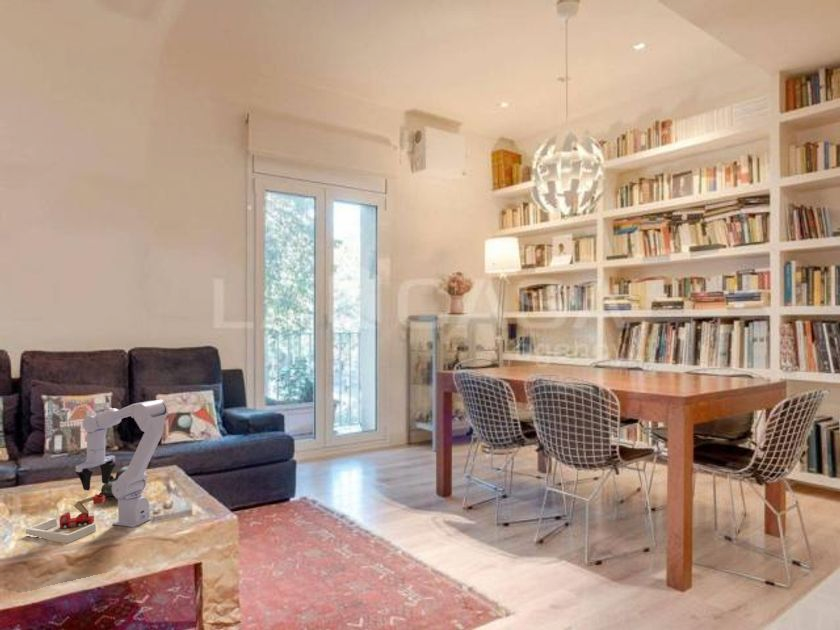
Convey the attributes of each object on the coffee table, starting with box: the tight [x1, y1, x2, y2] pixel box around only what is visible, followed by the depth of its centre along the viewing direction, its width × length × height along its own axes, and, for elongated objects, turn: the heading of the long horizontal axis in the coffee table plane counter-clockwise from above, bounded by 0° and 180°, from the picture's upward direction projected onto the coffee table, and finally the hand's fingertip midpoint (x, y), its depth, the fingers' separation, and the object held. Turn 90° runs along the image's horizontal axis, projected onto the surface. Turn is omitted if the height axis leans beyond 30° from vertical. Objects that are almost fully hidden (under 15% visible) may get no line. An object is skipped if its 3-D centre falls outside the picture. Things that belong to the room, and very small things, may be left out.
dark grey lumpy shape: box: [98, 465, 129, 497], centre depth 231 cm, size 15×12×14 cm
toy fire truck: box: [59, 494, 106, 530], centre depth 201 cm, size 3×14×10 cm, turn 106°
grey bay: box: [25, 517, 97, 544], centre depth 193 cm, size 19×10×2 cm, turn 70°
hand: (96, 486), depth 208 cm, fingers open, 7 cm apart
